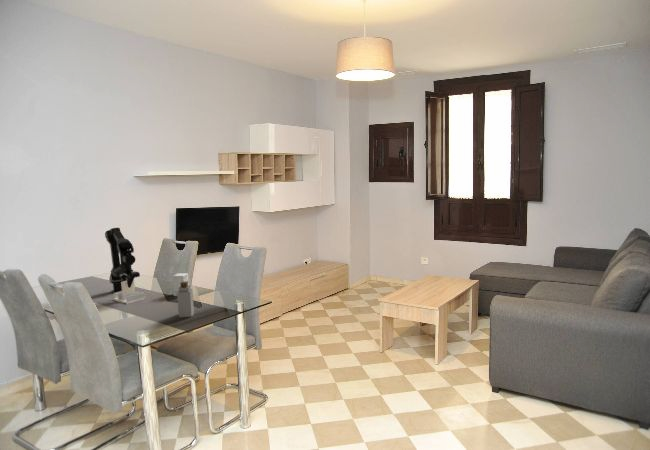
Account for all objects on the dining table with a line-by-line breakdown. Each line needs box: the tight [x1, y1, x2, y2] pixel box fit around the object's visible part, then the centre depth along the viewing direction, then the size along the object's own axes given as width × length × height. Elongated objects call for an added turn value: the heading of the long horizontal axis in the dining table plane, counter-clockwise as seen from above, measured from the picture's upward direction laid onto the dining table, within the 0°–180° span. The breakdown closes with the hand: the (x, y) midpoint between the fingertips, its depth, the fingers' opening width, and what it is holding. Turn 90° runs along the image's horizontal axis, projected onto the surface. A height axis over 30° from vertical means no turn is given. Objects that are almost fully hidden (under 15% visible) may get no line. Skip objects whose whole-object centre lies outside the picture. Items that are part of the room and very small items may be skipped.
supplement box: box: [172, 272, 190, 297], centre depth 305 cm, size 7×7×13 cm
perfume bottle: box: [176, 282, 195, 318], centre depth 264 cm, size 7×7×18 cm
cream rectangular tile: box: [121, 279, 136, 295], centre depth 298 cm, size 2×7×9 cm, turn 142°
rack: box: [112, 290, 146, 305], centre depth 298 cm, size 15×12×4 cm
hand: (128, 287), depth 298 cm, fingers closed on cream rectangular tile, 2 cm apart
